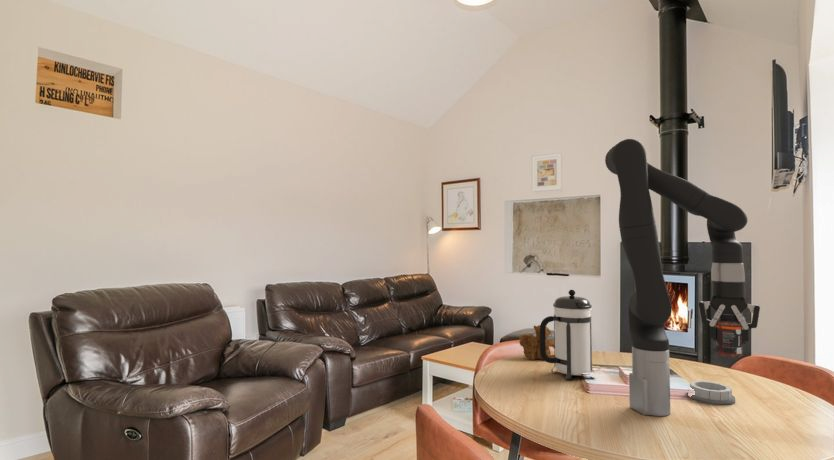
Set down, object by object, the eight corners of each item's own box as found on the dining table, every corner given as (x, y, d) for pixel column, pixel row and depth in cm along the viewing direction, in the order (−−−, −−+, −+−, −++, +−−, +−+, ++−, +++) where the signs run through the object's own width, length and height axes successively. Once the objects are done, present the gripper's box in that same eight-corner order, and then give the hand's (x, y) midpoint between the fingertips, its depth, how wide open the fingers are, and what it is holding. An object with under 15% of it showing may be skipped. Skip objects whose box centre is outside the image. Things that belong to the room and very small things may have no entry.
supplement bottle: (747, 358, 119) (746, 315, 119) (722, 357, 120) (721, 314, 121) (736, 353, 125) (735, 312, 125) (712, 352, 126) (711, 311, 126)
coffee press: (556, 366, 169) (555, 286, 170) (600, 373, 160) (599, 289, 161) (539, 378, 155) (538, 290, 156) (587, 386, 146) (585, 293, 147)
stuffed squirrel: (560, 360, 179) (559, 327, 179) (527, 362, 176) (527, 328, 176) (547, 354, 189) (546, 322, 189) (516, 356, 185) (515, 324, 186)
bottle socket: (708, 406, 128) (708, 393, 128) (678, 392, 140) (677, 381, 140) (745, 403, 130) (745, 391, 130) (712, 390, 142) (712, 378, 142)
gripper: (695, 279, 124) (696, 340, 124) (761, 281, 116) (762, 347, 115) (698, 277, 130) (699, 336, 130) (760, 279, 122) (762, 342, 121)
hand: (729, 341), depth 123 cm, fingers closed on supplement bottle, 6 cm apart
